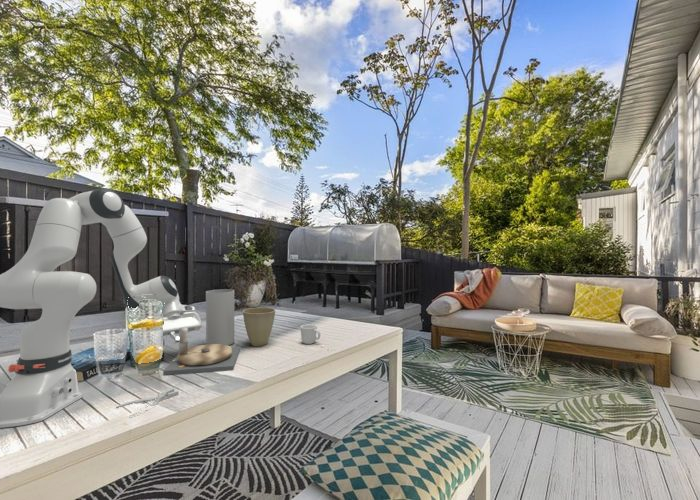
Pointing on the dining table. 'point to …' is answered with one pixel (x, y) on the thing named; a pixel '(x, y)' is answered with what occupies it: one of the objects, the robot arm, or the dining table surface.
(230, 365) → the dial base
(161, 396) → the pliers
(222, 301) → the cylinder vase
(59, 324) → the robot arm
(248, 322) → the plant pot
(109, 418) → the dining table surface
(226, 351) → the dial
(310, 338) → the cup
